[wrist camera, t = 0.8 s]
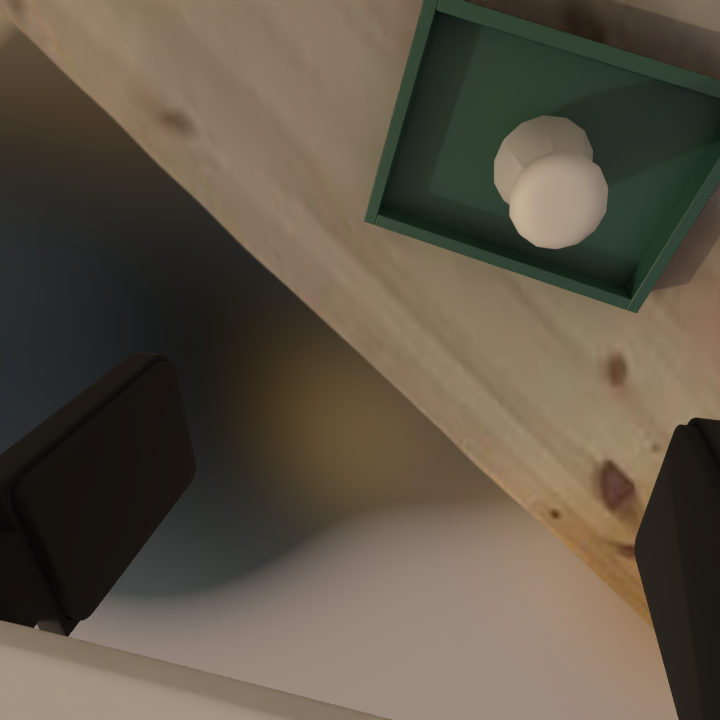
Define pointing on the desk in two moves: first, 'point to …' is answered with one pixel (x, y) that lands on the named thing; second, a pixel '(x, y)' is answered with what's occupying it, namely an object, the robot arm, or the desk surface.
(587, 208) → the salt shaker
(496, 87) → the tray
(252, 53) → the desk surface
